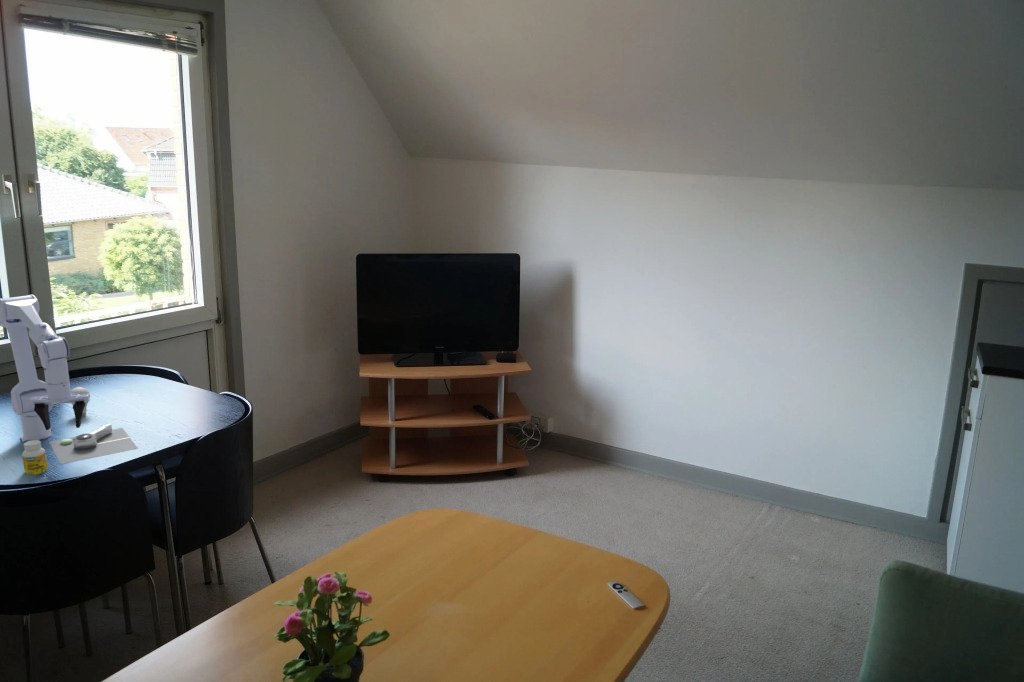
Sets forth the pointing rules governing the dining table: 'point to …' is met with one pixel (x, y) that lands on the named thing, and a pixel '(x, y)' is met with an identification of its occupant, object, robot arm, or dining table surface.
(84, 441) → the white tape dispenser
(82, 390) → the lightbulb
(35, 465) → the supplement bottle
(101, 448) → the plate
